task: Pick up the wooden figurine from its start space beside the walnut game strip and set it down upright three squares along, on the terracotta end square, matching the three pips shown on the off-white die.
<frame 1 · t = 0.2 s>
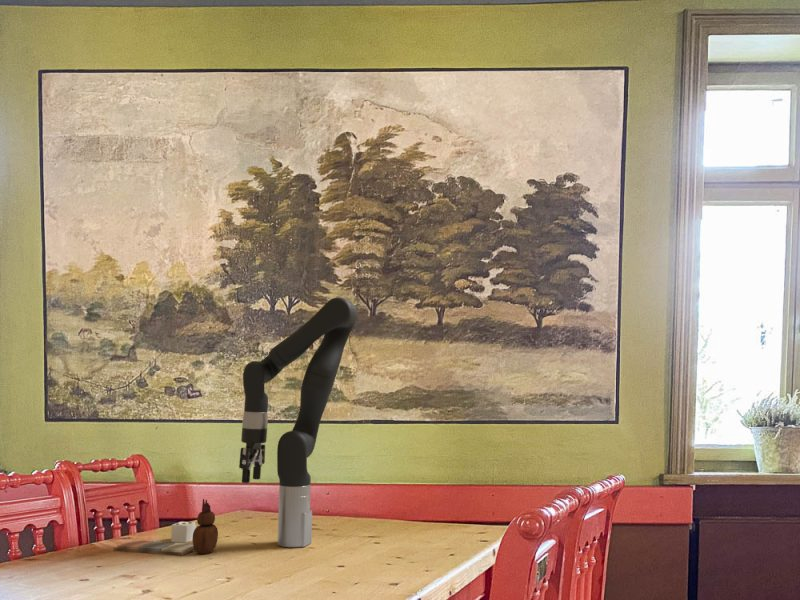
hand: (251, 481, 206), 18 cm above the table, tool pointing down, fingers open, 8 cm apart
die: (183, 540, 206), on the table
wooden figurine: (204, 553, 191), on the table
game strip: (157, 549, 195), on the table
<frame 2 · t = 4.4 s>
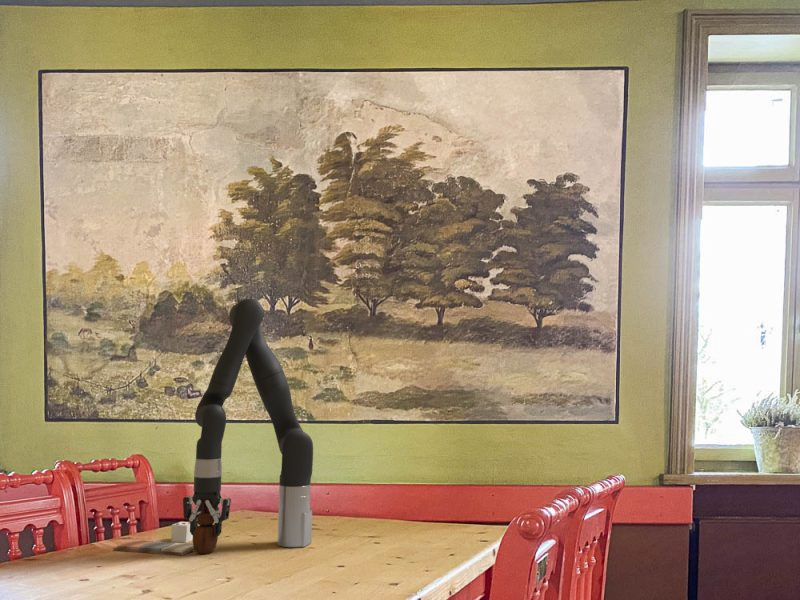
hand: (205, 535, 192), 5 cm above the table, tool pointing down, fingers closed on wooden figurine, 6 cm apart
wooden figurine: (204, 553, 191), on the table, touching gripper
everything else where it was.
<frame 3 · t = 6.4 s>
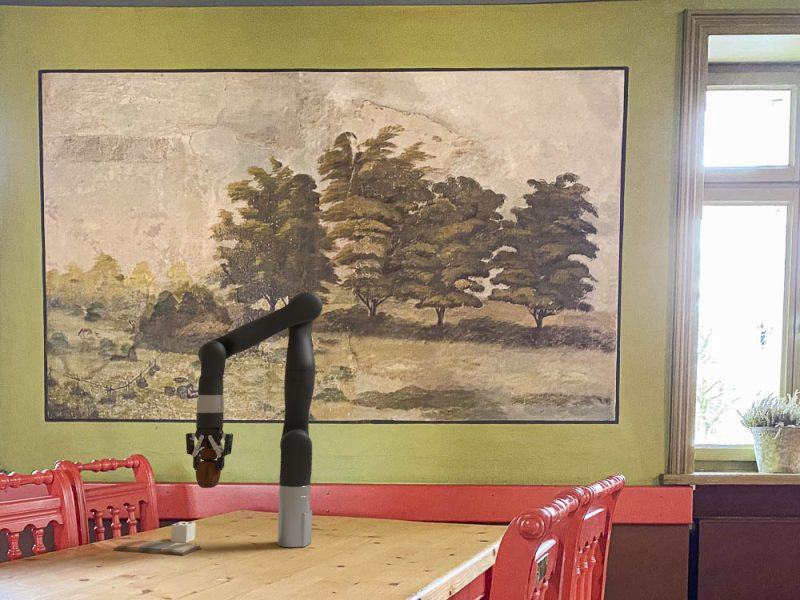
hand: (208, 470, 194), 23 cm above the table, tool pointing down, fingers closed on wooden figurine, 6 cm apart
wooden figurine: (208, 488, 193), point 18 cm above the table, touching gripper
everything else where it was.
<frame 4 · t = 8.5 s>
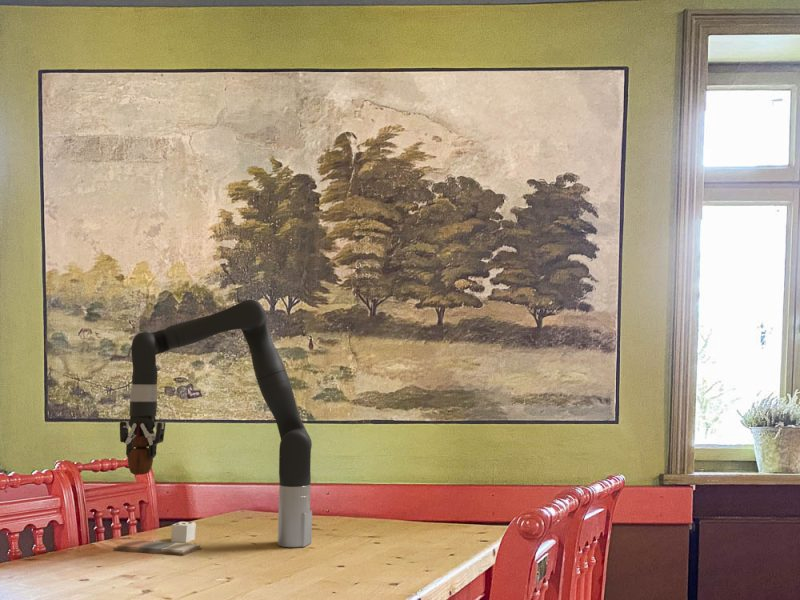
hand: (140, 457, 199), 25 cm above the table, tool pointing down, fingers closed on wooden figurine, 6 cm apart
wooden figurine: (140, 474, 199), point 21 cm above the table, touching gripper
everything else where it was.
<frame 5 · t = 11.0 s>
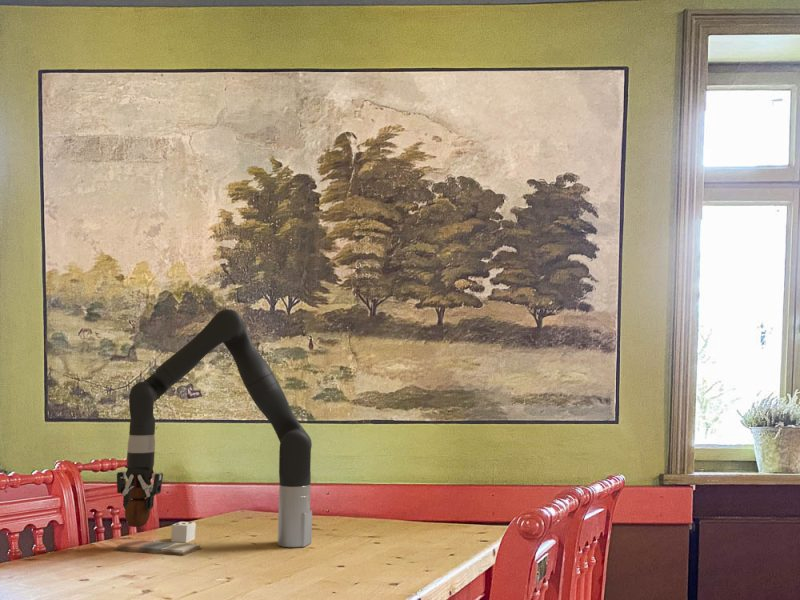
hand: (137, 509, 198), 11 cm above the table, tool pointing down, fingers closed on wooden figurine, 6 cm apart
wooden figurine: (137, 526, 197), point 6 cm above the table, touching gripper
everything else where it was.
when the fingers open (7 cm above the table, at t = 13.0 s): wooden figurine stays where it is, resting on game strip.
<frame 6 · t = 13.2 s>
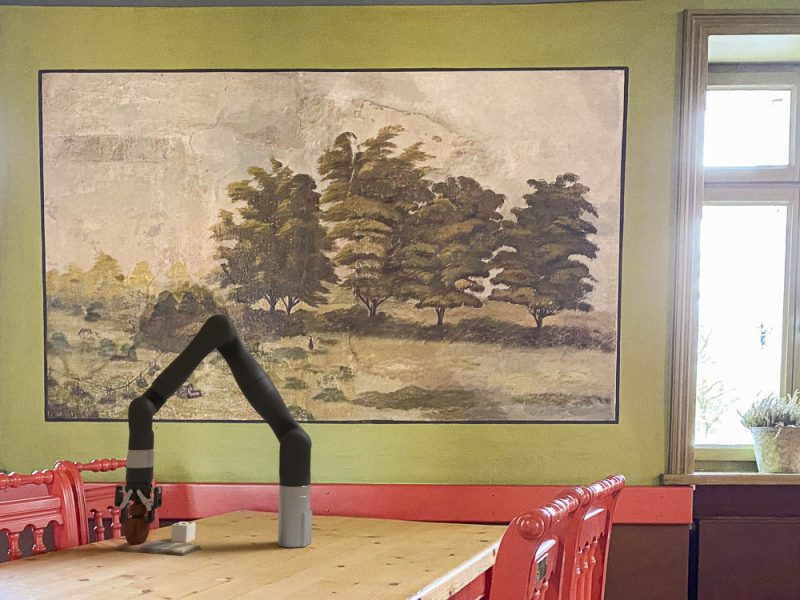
hand: (137, 522, 197), 7 cm above the table, tool pointing down, fingers open, 8 cm apart
wooden figurine: (136, 543, 196), point 1 cm above the table, touching game strip
everything else where it was.
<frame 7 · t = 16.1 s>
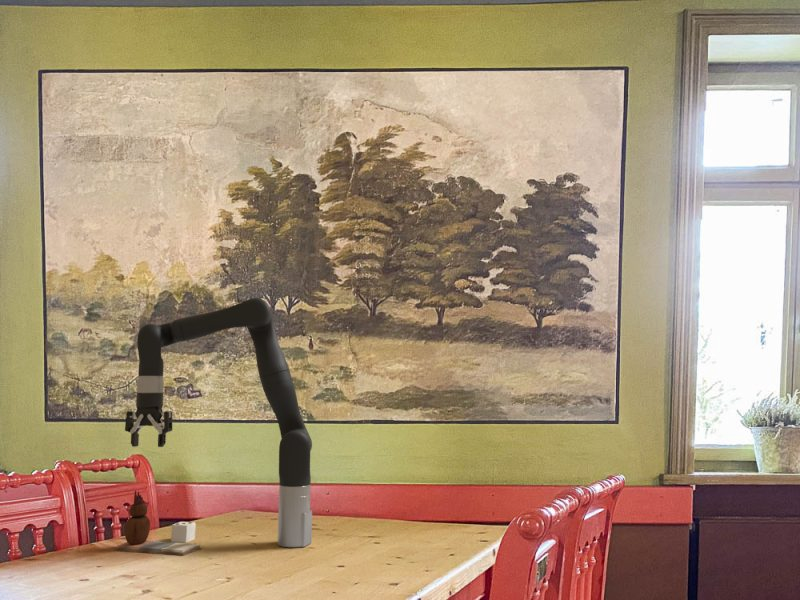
hand: (147, 446, 202), 28 cm above the table, tool pointing down, fingers open, 8 cm apart
nothing on the table moved.
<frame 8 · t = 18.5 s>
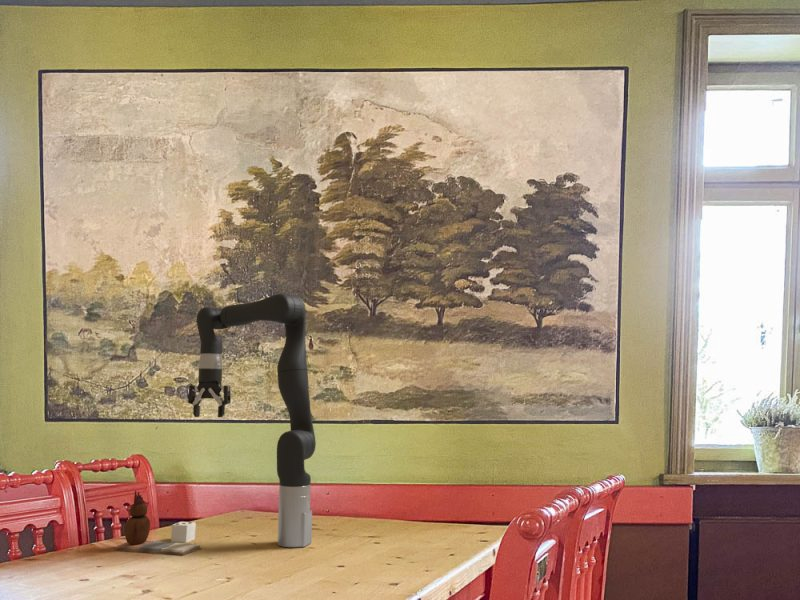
hand: (208, 417, 224), 36 cm above the table, tool pointing down, fingers open, 8 cm apart
nothing on the table moved.
at the end: wooden figurine 0.2 cm from the target spot on the game strip, point 1.0 cm above the game strip's base; wooden figurine tilted 0°; the gripper is holding nothing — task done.
